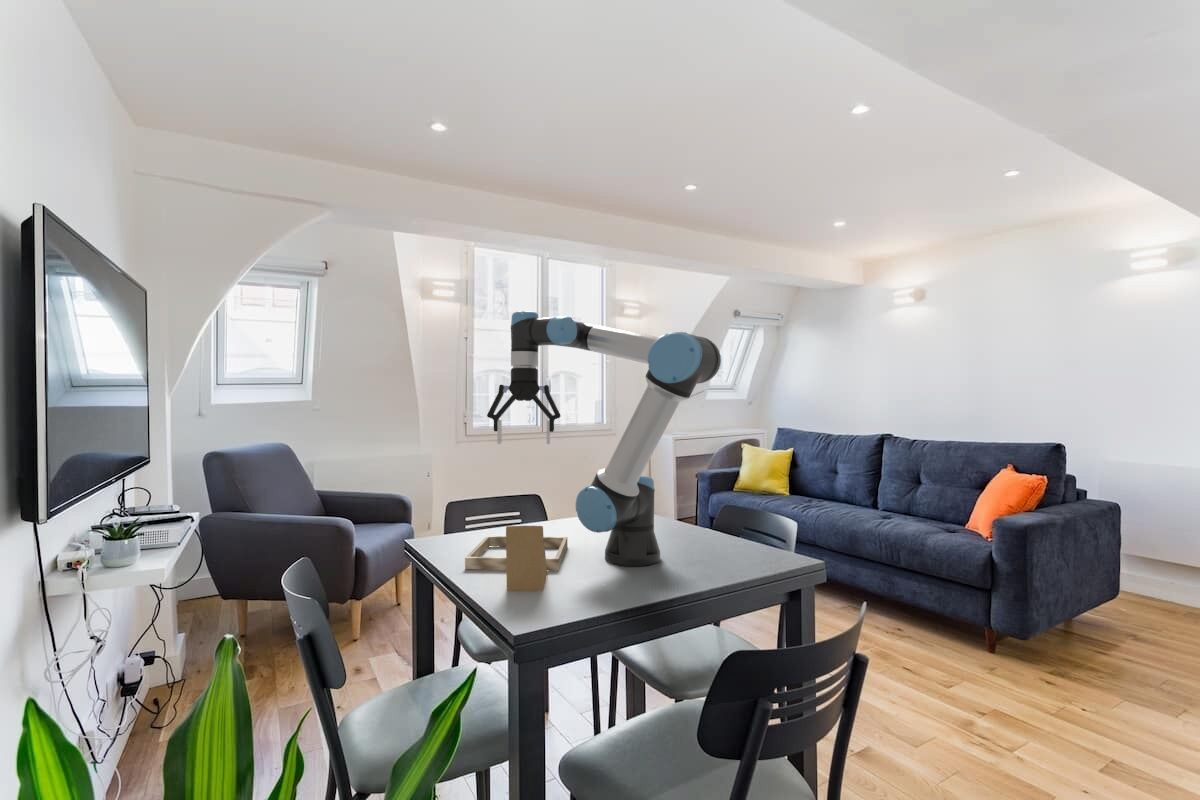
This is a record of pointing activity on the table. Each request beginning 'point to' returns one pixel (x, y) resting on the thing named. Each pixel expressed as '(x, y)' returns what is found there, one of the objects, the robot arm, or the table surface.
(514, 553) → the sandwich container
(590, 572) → the table surface
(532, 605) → the table surface
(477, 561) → the pale wooden box
